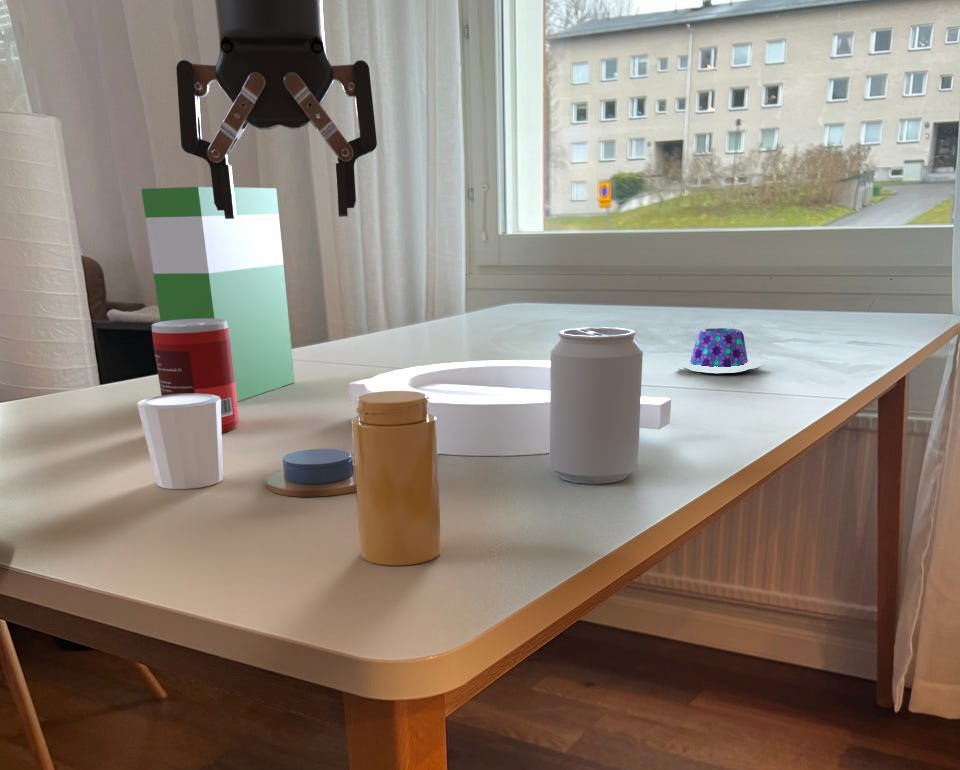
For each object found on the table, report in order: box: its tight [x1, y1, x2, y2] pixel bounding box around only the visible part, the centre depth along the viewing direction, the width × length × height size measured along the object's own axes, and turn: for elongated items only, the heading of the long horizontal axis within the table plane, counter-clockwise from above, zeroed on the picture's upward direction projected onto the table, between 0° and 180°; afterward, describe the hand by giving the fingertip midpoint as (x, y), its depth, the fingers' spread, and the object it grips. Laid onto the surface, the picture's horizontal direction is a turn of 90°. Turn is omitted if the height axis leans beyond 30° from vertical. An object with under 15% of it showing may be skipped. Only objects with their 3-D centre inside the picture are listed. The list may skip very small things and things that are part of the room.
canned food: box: [151, 319, 240, 434], centre depth 105 cm, size 8×8×11 cm
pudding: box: [690, 327, 749, 367], centre depth 136 cm, size 12×12×5 cm
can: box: [549, 327, 644, 485], centre depth 83 cm, size 8×8×12 cm
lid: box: [282, 448, 354, 485], centre depth 84 cm, size 6×6×2 cm
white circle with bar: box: [348, 359, 672, 457], centre depth 104 cm, size 28×28×5 cm
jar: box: [350, 391, 442, 567], centre depth 65 cm, size 5×5×10 cm
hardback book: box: [141, 186, 296, 403], centre depth 123 cm, size 18×7×24 cm, turn 162°
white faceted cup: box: [136, 393, 224, 490], centre depth 85 cm, size 7×7×7 cm
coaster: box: [265, 464, 356, 498], centre depth 84 cm, size 9×9×1 cm
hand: (287, 217), depth 76 cm, fingers open, 8 cm apart
